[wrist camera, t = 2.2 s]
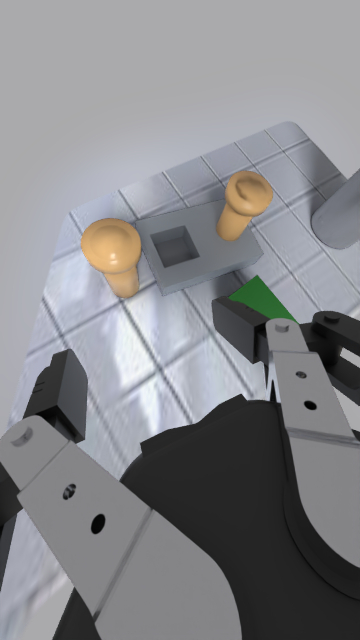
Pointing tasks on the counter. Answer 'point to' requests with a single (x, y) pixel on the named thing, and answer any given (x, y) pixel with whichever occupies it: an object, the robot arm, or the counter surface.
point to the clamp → (261, 299)
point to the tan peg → (114, 253)
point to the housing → (206, 235)
